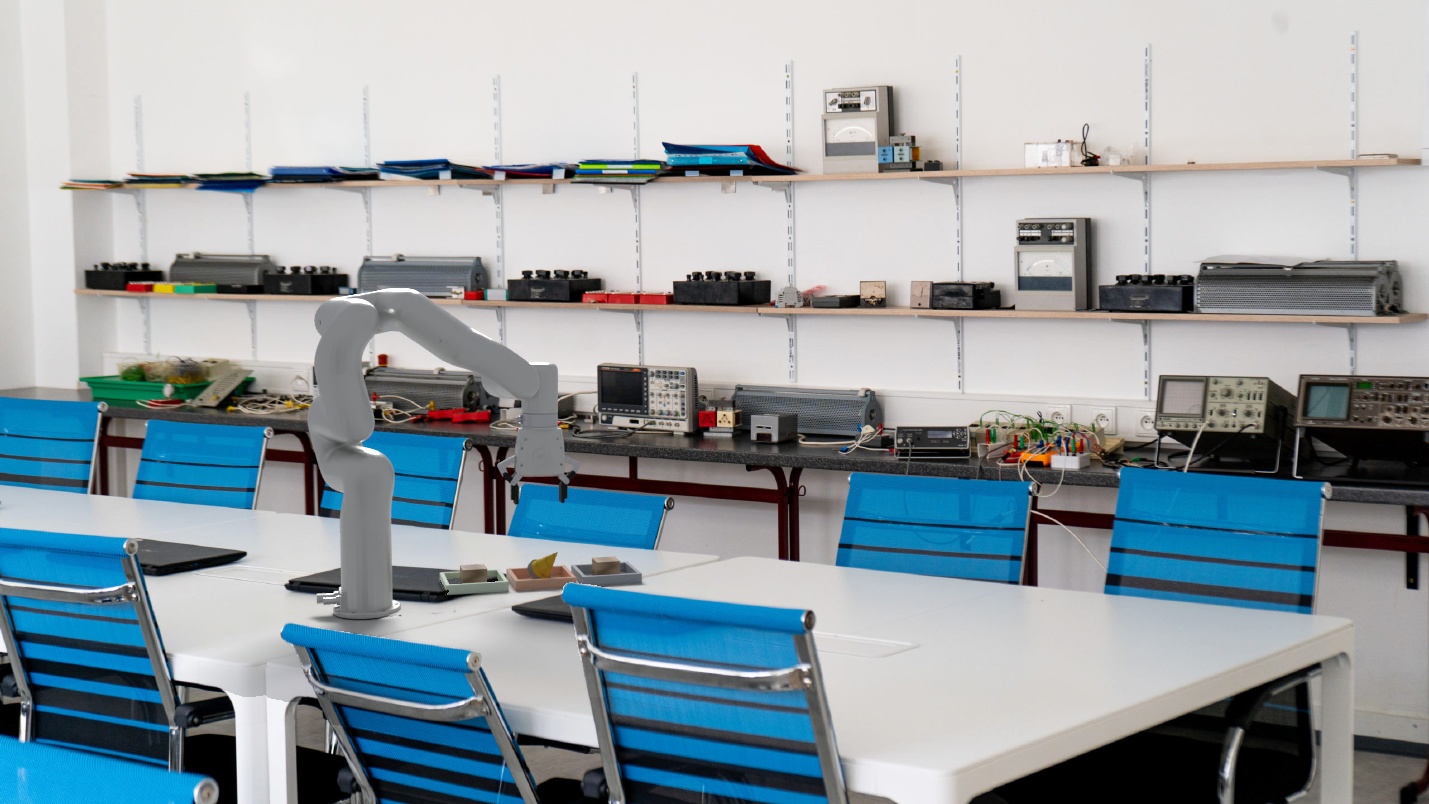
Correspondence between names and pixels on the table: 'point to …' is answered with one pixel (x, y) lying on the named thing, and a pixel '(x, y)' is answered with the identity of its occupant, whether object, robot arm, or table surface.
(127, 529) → the table surface
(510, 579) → the terracotta dish
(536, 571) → the mustard yellow cone
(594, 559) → the walnut block
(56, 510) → the table surface
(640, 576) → the grey tray
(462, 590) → the sage tray
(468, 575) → the walnut block
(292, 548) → the table surface
